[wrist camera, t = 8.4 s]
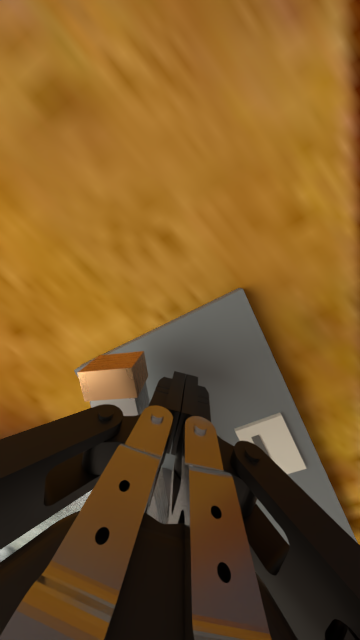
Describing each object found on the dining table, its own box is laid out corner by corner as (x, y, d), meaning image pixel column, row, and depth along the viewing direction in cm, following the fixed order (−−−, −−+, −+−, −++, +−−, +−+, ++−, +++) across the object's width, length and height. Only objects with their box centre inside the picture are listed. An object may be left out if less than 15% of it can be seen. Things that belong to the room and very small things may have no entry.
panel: (349, 530, 17) (390, 598, 14) (206, 563, 20) (208, 629, 16) (239, 287, 14) (253, 291, 10) (82, 364, 16) (49, 388, 13)
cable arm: (153, 350, 11) (143, 366, 9) (186, 541, 14) (184, 587, 12) (89, 356, 12) (66, 373, 10) (134, 540, 15) (123, 584, 13)
